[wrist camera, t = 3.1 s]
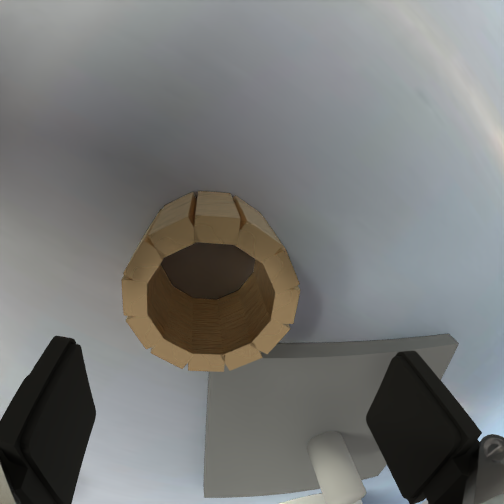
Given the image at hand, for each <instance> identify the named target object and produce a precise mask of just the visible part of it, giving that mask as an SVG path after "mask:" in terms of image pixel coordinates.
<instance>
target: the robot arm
mask: <svg viewBox="0 0 504 504" xmlns="http://www.w3.org/2000/svg"><path fill="white" fill-rule="evenodd" d="M95 417H96V410H95V405H94V402H93V398H92V394H91V390H90V386H89V382H88V378H87V373H86V369H85V364H84V359H83V354H82V349H81V346H80V345H78V344H76V342H75V340H74V339H72V338H66V337H61V336H55V337H54V338H53V339H52V340H51V342H50V343H49V345H48V346H47V348H46V349H45V351H44V353H43V354H42V356H41V357H40V359H39V360H38V362H37V363H36V365H35V367H34V368H33V370H32V371H31V373H30V375H28V376H27V377H26V378H25V379H24V381H23V382H22V384H21V386H20V387H19V389H18V391H17V392H16V394H15V396H14V397H13V399H12V401H11V403H10V404H9V406H8V408H7V410H6V411H5V413H4V415H3V417H2V419H1V421H0V504H71V503H72V499H73V495H74V491H75V487H76V483H77V479H78V476H79V472H80V468H81V465H82V461H83V457H84V454H85V451H86V447H87V444H88V440H89V437H90V434H91V431H92V428H93V424H94V421H95ZM366 422H367V425H368V427H369V429H370V431H371V433H372V435H373V437H374V439H375V441H376V443H377V445H378V447H379V449H380V451H381V453H382V455H383V457H384V459H385V461H386V463H387V465H388V467H389V469H390V471H391V473H392V476H393V478H394V480H395V482H396V484H397V486H398V488H399V490H400V492H401V494H402V496H403V497H404V498H406V499H408V501H409V504H415V503H418V502H420V501H423V500H424V499H425V498H427V500H428V504H504V438H503V437H501V436H499V435H494V434H491V435H487V436H485V437H483V439H482V440H481V441H480V442H479V441H478V440H477V439H478V438H479V436H480V435H481V434H482V432H481V431H480V430H479V428H478V427H477V426H476V424H475V423H474V422H473V421H472V419H471V418H470V417H469V415H468V414H467V413H466V412H465V410H464V409H463V408H462V406H461V405H460V404H459V403H458V401H457V400H456V399H455V398H454V396H453V395H452V394H451V393H450V391H449V390H448V389H447V388H446V386H445V385H444V384H443V383H442V382H441V380H440V379H439V378H438V377H437V375H436V374H435V373H434V372H433V371H432V369H431V368H430V367H429V366H428V365H427V363H426V362H425V361H424V360H423V359H422V357H421V356H420V355H419V354H418V353H417V352H416V351H402V352H398V353H397V354H396V356H395V357H393V358H392V360H391V362H390V364H389V366H388V369H387V371H386V373H385V376H384V378H383V380H382V383H381V385H380V387H379V389H378V391H377V394H376V396H375V398H374V400H373V402H372V404H371V406H370V408H369V410H368V412H367V415H366Z"/></svg>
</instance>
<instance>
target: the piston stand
mask: <svg viewBox="0 0 504 504" xmlns="http://www.w3.org/2000/svg"><path fill="white" fill-rule="evenodd" d="M458 344H459V343H458V342H457V341H456V340H455V339H454V338H453V337H452V336H451V335H450V334H442V335H433V336H423V337H412V338H401V339H388V340H374V341H356V342H333V343H277V344H276V346H275V347H274V348H273V349H272V350H271V351H270V352H269V353H268V354H265V353H263V352H261V354H262V357H263V358H261V359H258V360H256V361H253V362H251V363H248V364H246V365H243V366H241V367H238V368H236V369H233V370H231V371H230V370H229V369H228V367H227V366H226V364H225V366H224V372H213V371H209V379H208V396H207V414H206V435H205V458H204V498H226V497H250V496H264V495H275V494H285V493H293V492H301V491H307V490H314V489H320V488H321V491H322V494H323V497H324V500H325V503H326V504H353V503H355V502H357V501H358V500H360V499H361V498H363V497H364V496H365V495H366V490H365V488H364V485H363V483H362V481H361V480H363V479H367V478H371V477H375V476H378V475H379V474H380V472H381V471H382V470H383V469H384V467H385V466H386V465H387V463H386V461H385V459H384V457H383V455H382V453H381V451H380V449H379V447H378V445H377V443H376V441H375V439H374V437H373V435H372V433H371V431H370V429H369V427H368V425H367V422H366V415H367V412H368V410H369V408H370V406H371V404H372V402H373V400H374V398H375V396H376V394H377V391H378V389H379V387H380V385H381V383H382V380H383V378H384V376H385V373H386V371H387V369H388V366H389V364H390V362H391V360H392V358H393V357H395V356H396V354H397V353H398V352H402V351H416V352H417V353H418V354H419V355H420V356H421V357H422V359H423V360H424V361H425V362H426V363H427V365H428V366H429V367H430V368H431V369H432V371H433V372H434V373H435V374H436V375H437V377H438V378H439V379H440V380H441V378H442V376H443V374H444V372H445V371H446V369H447V367H448V365H449V363H450V361H451V359H452V357H453V355H454V352H455V350H456V348H457V346H458Z"/></svg>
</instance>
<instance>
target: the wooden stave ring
mask: <svg viewBox="0 0 504 504" xmlns="http://www.w3.org/2000/svg"><path fill="white" fill-rule="evenodd" d="M196 242H200V243H214V244H229V245H235V246H236V247H238V248H239V249H241V250H243V251H244V252H246V253H247V254H249V255H250V256H252V257H253V258H255V263H254V270H253V273H252V274H251V275H250V276H249V278H248V279H247V280H246V282H245V283H244V284H243V285H242V287H241V288H240V289H239V290H238V291H235V292H233V293H231V294H228V295H226V296H224V297H222V298H219V299H201V298H193V297H191V296H189V295H187V294H186V293H184V292H182V291H181V290H179V289H177V288H176V287H174V286H173V285H172V283H171V282H170V280H169V278H168V276H167V275H166V273H165V271H164V269H163V268H162V266H161V262H162V260H163V259H164V257H167V256H169V255H171V254H173V253H175V252H177V251H179V250H181V249H184V248H186V247H188V246H190V245H192V244H194V243H196ZM123 274H124V276H123V278H122V297H123V311H124V315H125V316H127V319H126V322H127V323H128V325H129V326H130V327H131V329H132V330H133V332H134V333H135V335H136V336H137V337H138V339H139V340H140V341H141V343H142V344H143V346H144V347H145V348H146V349H148V348H151V347H152V349H151V353H152V354H154V355H156V356H157V357H159V358H161V359H163V360H165V361H167V362H169V363H171V364H173V365H175V366H177V367H179V368H181V369H183V368H184V366H185V365H186V364H187V363H188V370H190V371H213V372H224V366H225V364H226V366H227V367H228V369H229V370H230V371H231V370H233V369H236V368H238V367H241V366H243V365H246V364H248V363H251V362H253V361H256V360H258V359H261V358H263V357H262V354H261V352H263V353H265V354H268V353H269V352H270V351H271V350H272V349H273V348H274V347H275V346H276V344H277V343H278V342H279V341H280V340H281V339H282V338H283V337H284V336H285V335H286V333H287V332H288V331H289V330H290V326H289V324H293V322H294V318H295V313H296V309H297V304H298V299H299V294H300V289H299V287H298V285H299V284H300V283H299V281H298V278H297V276H296V273H295V271H294V268H293V266H292V263H291V261H290V258H289V256H288V254H287V251H286V249H285V248H284V246H283V245H282V243H281V242H280V240H279V239H278V237H277V236H276V234H275V233H274V232H273V230H272V229H271V227H270V226H269V224H268V223H267V221H266V220H265V218H264V217H263V216H262V215H261V213H260V212H258V211H257V210H256V209H254V208H253V207H251V206H250V205H249V204H247V203H246V202H244V201H243V200H241V199H240V198H239V197H237V196H236V195H235V196H234V197H233V199H232V196H231V194H230V193H222V192H209V191H198V197H197V199H196V197H195V195H194V192H191V193H189V194H187V195H185V196H183V197H181V198H179V199H177V200H175V201H173V202H171V203H169V204H166V205H165V206H164V208H163V209H160V211H159V212H158V214H157V216H156V217H155V219H154V220H153V222H152V223H151V225H150V226H149V228H148V230H147V231H146V233H145V234H144V236H143V238H142V240H141V242H140V243H139V245H138V247H137V249H136V251H135V252H134V254H133V256H132V258H131V260H130V262H129V263H128V265H127V267H126V269H125V271H124V273H123Z"/></svg>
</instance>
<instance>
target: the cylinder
mask: <svg viewBox="0 0 504 504" xmlns="http://www.w3.org/2000/svg"><path fill="white" fill-rule="evenodd" d="M279 504H326V503H325V500H324V497H323V494H322V493H321V494H315V495H310V496H305V497H301V498H297V499H292V500H289V501H286V502H282V503H279ZM353 504H363V503H362V501H361V499H360V500H358V501H357V502H355V503H353Z"/></svg>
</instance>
